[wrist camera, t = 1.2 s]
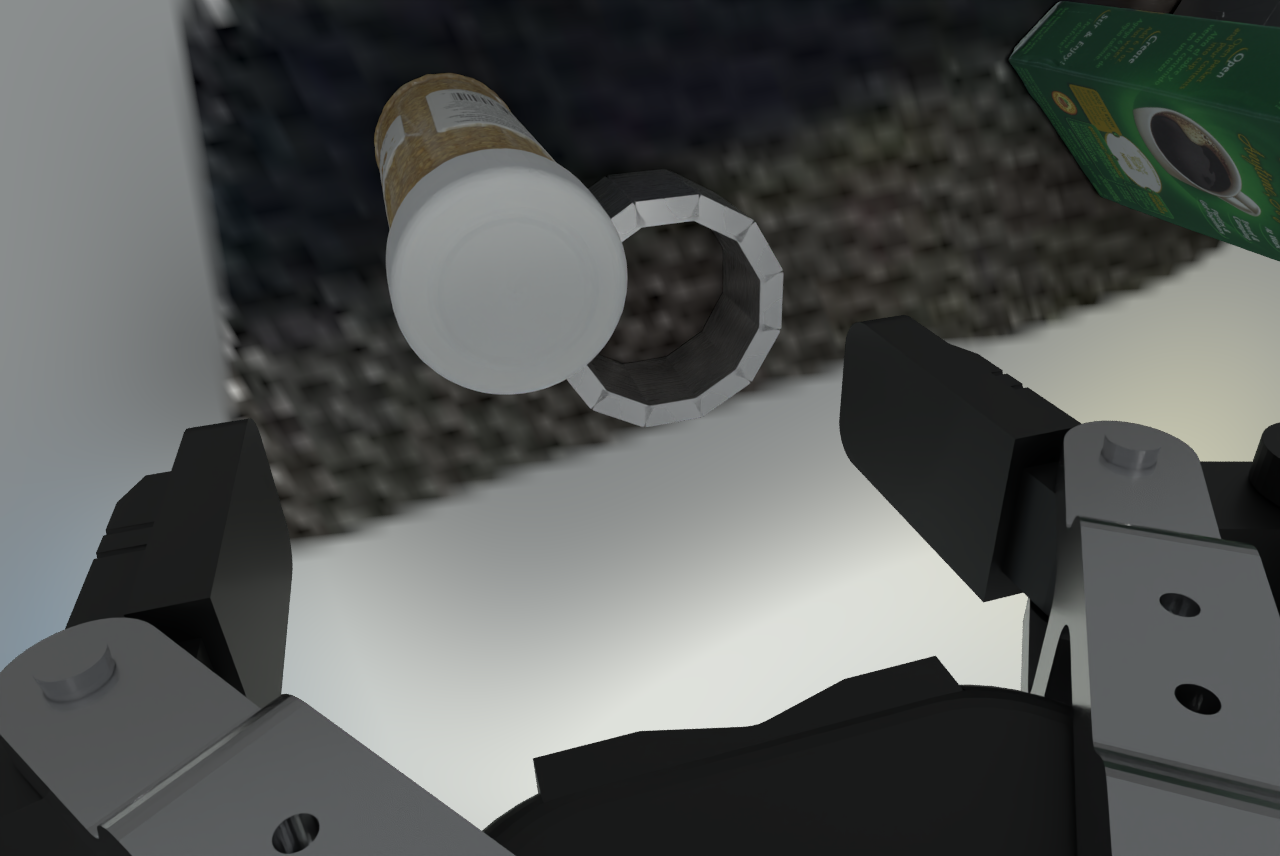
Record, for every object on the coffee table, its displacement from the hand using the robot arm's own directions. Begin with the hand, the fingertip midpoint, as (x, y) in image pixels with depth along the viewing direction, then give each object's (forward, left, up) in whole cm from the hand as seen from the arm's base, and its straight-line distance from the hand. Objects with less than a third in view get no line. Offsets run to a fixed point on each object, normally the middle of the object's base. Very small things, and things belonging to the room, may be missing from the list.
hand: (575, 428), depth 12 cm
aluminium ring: (-6, +5, -19) cm, 20 cm away
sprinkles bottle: (0, 0, -19) cm, 19 cm away
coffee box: (-23, +1, -19) cm, 30 cm away
